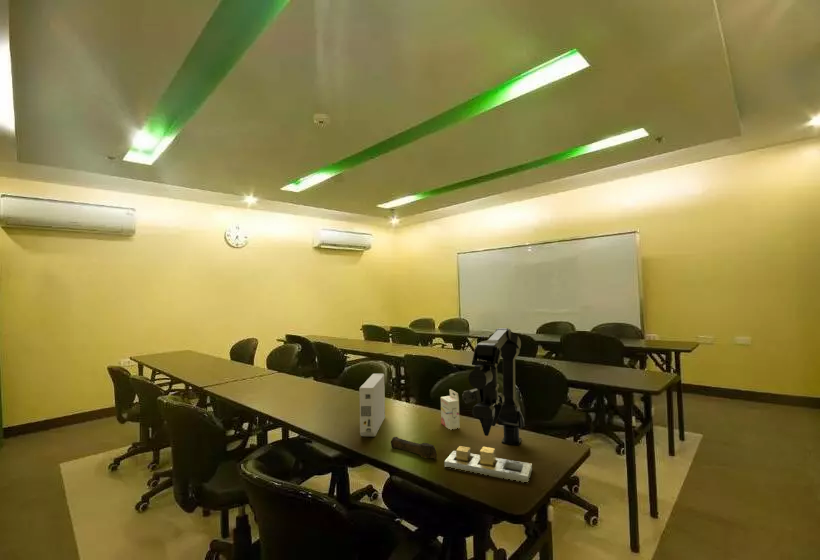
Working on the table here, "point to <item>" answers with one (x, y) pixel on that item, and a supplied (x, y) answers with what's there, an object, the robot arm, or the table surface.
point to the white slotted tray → (472, 463)
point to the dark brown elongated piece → (414, 447)
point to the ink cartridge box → (450, 411)
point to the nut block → (487, 457)
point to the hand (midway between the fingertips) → (489, 430)
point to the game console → (372, 405)
